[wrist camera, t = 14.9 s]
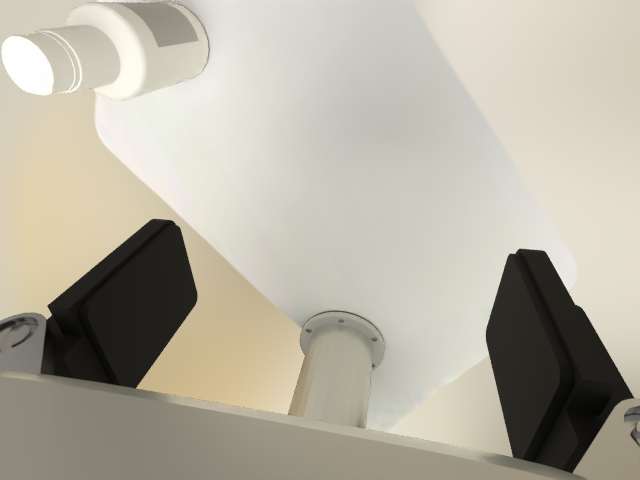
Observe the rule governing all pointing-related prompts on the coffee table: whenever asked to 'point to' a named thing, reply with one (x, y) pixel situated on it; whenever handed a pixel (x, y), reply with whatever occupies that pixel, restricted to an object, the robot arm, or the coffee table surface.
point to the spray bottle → (110, 51)
